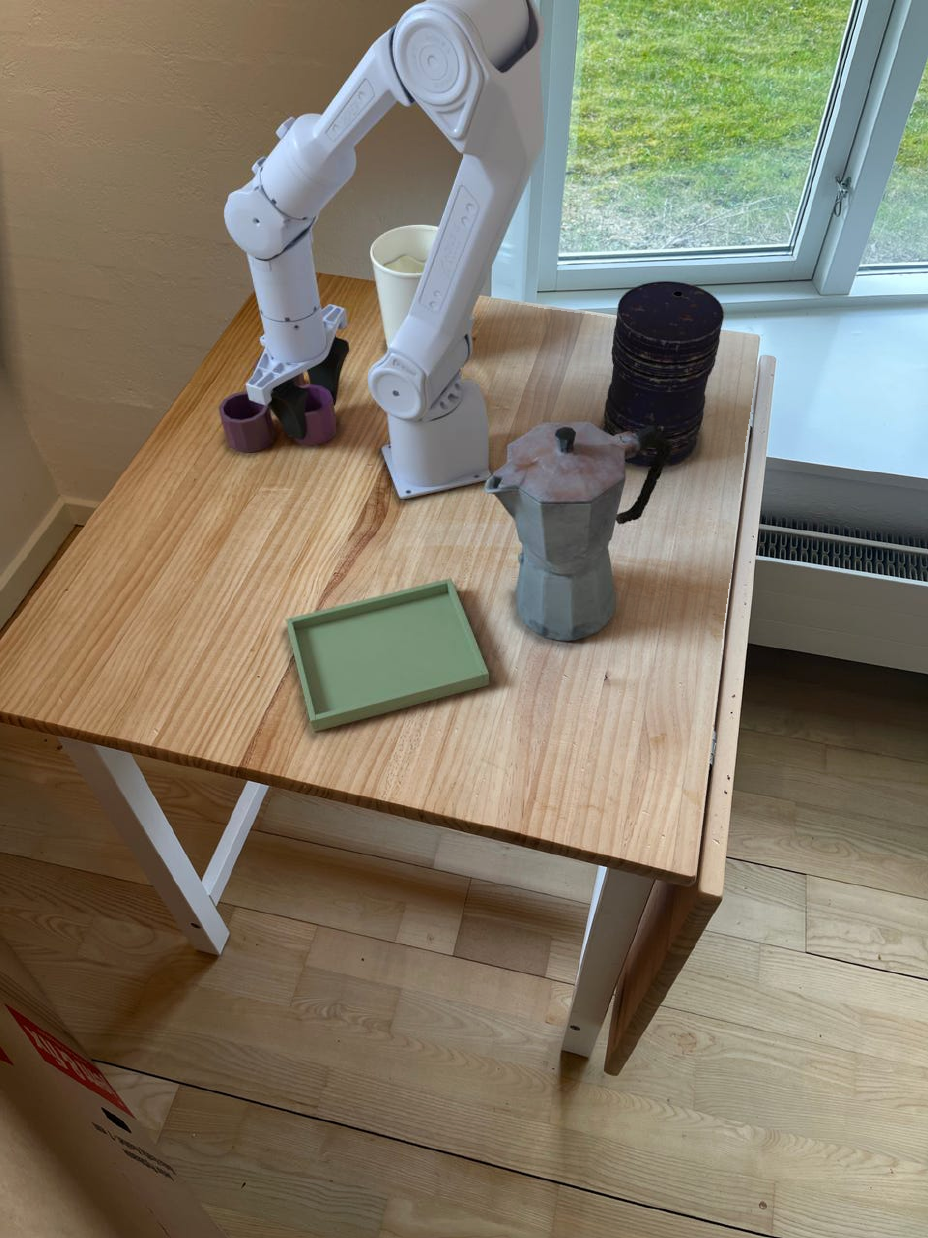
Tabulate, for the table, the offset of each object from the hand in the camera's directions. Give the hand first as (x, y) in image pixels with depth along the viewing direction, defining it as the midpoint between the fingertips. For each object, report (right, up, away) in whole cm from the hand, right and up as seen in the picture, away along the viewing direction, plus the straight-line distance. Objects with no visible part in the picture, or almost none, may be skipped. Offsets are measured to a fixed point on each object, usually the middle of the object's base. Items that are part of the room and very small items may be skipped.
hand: (311, 419), depth 99 cm
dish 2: (0, -1, +1) cm, 1 cm away
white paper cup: (+11, +10, +10) cm, 18 cm away
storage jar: (+35, -2, -1) cm, 35 cm away
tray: (+9, -24, -18) cm, 32 cm away
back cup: (-4, +3, +5) cm, 7 cm away
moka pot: (+25, -20, -14) cm, 35 cm away
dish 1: (-6, -2, +1) cm, 7 cm away
